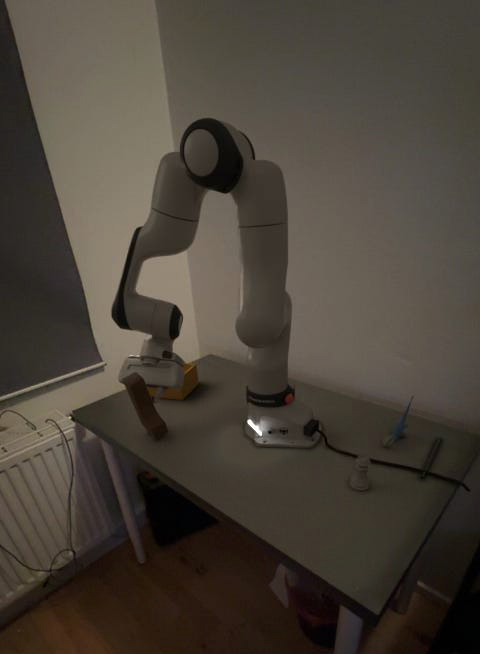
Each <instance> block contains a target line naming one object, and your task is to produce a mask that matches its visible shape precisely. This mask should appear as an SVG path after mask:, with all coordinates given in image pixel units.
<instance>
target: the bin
mask: <svg viewBox="0 0 480 654" xmlns="http://www.w3.org/2000/svg"><path fill="white" fill-rule="evenodd" d="M183 369H184V372H185V375H184V382H183V386H182V388H181V389H180V390H179V391H177V390H168V389H165V393H164V394H163V395H162V396H161V399H168V400H176V401H177V400H178V401H184V399H185V398H186V397H188V396H189V394H190V393H191V392H192V391H193V390H195V388H196V387H197V386H199V384H200V381H199V374H198V367H197V363H188V362H185V367H184V368H183ZM147 389H148V392H149V394H150V397H152V396H155V395H156V393H157V392H158V390H157V388H148V387H147Z"/></svg>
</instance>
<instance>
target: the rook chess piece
mask: <svg viewBox="0 0 480 654" xmlns="http://www.w3.org/2000/svg"><path fill="white" fill-rule="evenodd" d="M369 458H370V457H369V456H367V455H366V454H363V455H362V454H359V456H358V458H355V461H354V462H355V463H356V464H355V471H354V473H353V474H352V475H351V477H350V480H349V485H350V487H351V488H352V489H354V490H356V491H358V492H360V491H361V492H362V491H367V490H368V489H369V488H370V483H371V482H370V478H369V475H368V470H369V469H370V467H369V466H370V465H371V464H372V462H371V461H370V459H371V458H370V459H369Z"/></svg>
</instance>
